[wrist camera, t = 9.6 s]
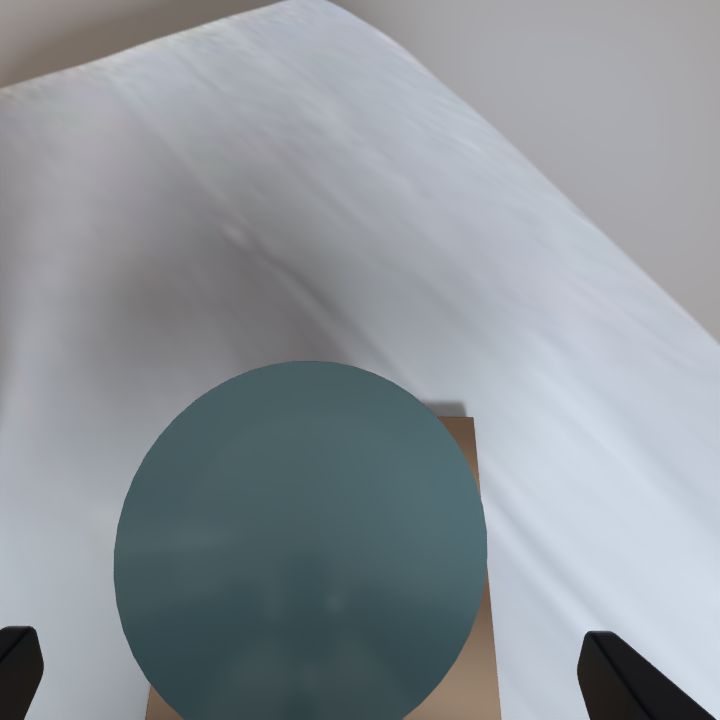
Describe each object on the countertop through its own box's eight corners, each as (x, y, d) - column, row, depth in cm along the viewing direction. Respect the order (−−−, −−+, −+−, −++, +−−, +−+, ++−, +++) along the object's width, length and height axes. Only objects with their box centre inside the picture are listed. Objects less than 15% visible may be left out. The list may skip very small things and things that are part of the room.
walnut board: (498, 755, 17) (505, 762, 17) (147, 755, 17) (138, 762, 16) (469, 423, 22) (473, 417, 22) (199, 417, 22) (194, 411, 21)
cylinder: (326, 682, 17) (282, 877, 6) (232, 565, 19) (41, 524, 7) (427, 568, 19) (561, 532, 7) (334, 469, 20) (316, 304, 9)
